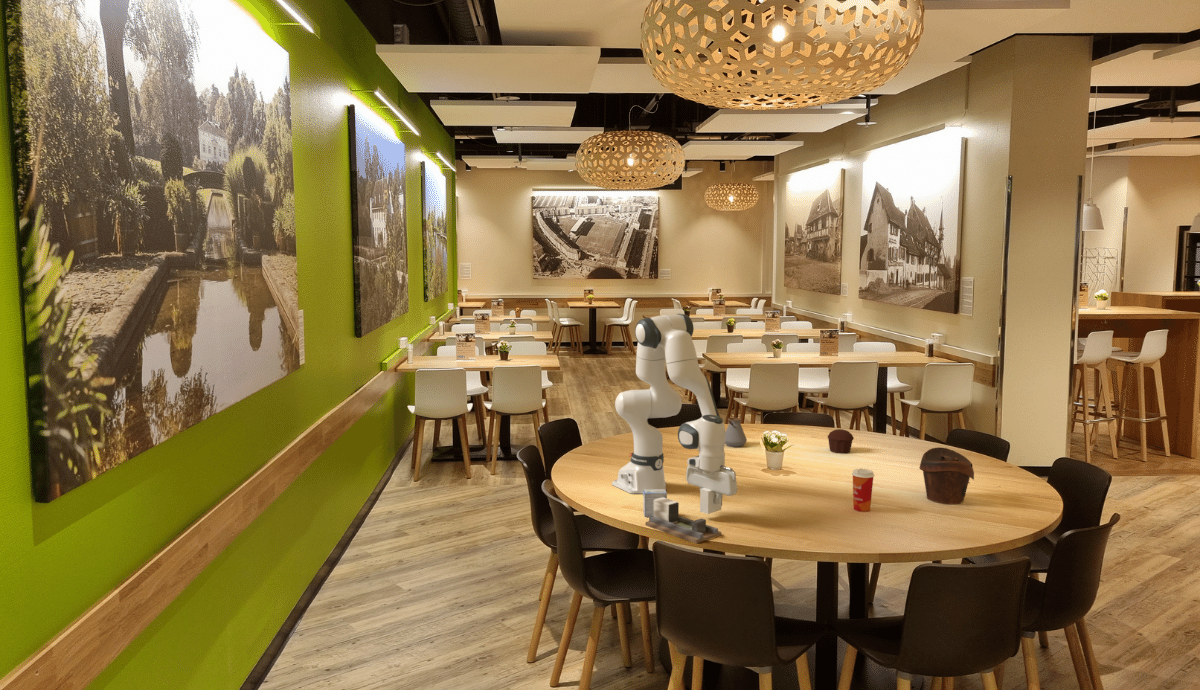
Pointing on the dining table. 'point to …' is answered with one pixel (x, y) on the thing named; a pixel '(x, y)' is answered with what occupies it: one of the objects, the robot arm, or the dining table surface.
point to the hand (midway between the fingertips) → (710, 501)
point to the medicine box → (651, 500)
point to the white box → (708, 501)
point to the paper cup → (862, 489)
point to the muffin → (840, 441)
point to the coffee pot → (735, 433)
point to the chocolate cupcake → (946, 475)
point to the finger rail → (679, 522)
